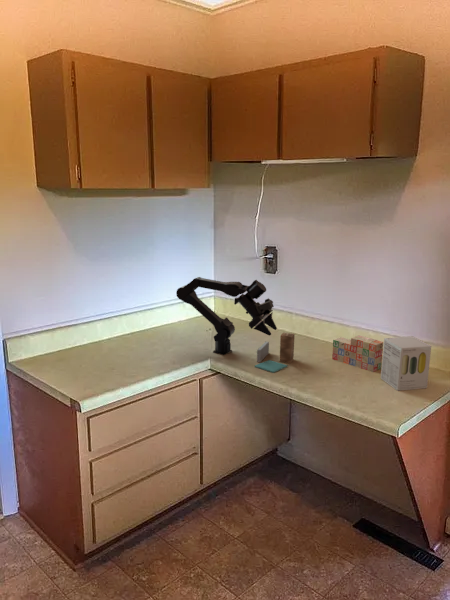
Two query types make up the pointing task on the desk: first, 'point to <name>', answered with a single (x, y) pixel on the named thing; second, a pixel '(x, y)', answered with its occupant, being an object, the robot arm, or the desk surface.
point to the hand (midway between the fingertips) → (273, 332)
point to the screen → (262, 351)
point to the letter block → (287, 347)
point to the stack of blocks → (359, 352)
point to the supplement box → (405, 363)
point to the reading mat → (271, 366)
